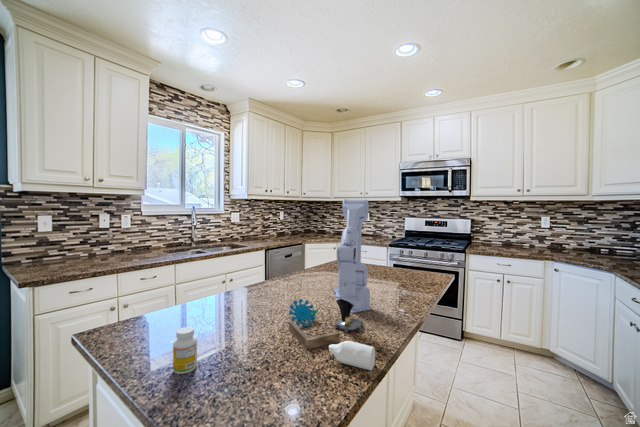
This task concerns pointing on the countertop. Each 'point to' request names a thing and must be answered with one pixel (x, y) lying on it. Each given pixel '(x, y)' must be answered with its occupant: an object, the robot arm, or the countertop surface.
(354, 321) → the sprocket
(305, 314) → the gear
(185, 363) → the supplement bottle
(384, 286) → the countertop surface
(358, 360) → the white plastic bottle
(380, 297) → the countertop surface
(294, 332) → the tray
